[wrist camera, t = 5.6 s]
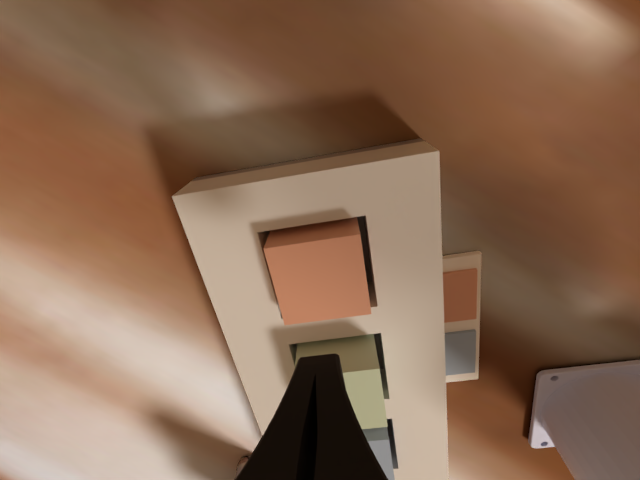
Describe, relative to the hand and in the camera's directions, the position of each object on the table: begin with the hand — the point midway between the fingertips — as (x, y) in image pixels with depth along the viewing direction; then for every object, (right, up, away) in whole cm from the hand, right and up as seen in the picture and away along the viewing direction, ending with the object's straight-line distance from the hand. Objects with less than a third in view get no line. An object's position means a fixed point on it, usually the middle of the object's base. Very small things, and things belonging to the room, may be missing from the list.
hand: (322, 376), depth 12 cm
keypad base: (+1, -2, +11) cm, 11 cm away
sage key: (+1, -3, +9) cm, 9 cm away
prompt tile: (+9, 0, +10) cm, 14 cm away
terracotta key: (0, +4, +7) cm, 8 cm away
